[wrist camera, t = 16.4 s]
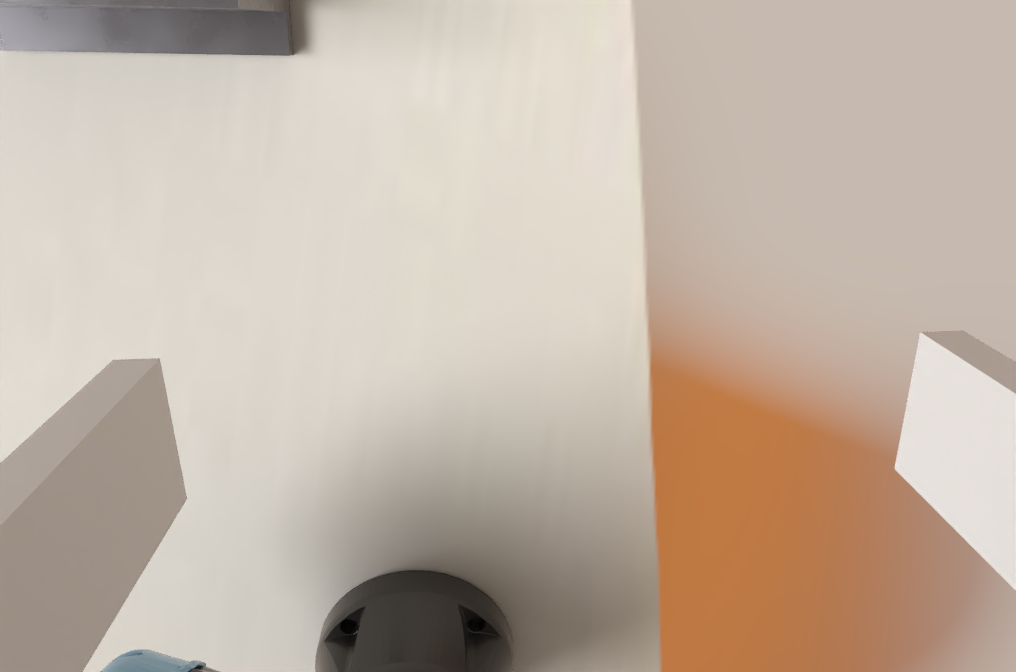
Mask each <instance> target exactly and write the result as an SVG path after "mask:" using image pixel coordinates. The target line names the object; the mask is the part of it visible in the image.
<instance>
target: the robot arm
mask: <svg viewBox="0 0 1016 672" xmlns="http://www.w3.org/2000/svg"><path fill="white" fill-rule="evenodd" d="M895 470H896V471H897V472H898V473H899V474H900V475H901V476H902V477H903V478H904V479H905V480H906V481H907V482H908V483H909V484H910V485H912V487H913V488H914V489H915V490H916V491H917V492H918V493H919V494H920V495H921V496H922V497H923V498H924V499H925V500H926V501H927V502H928V503H929V504H930V505H931V506H932V507H933V508H934V509H935V510H936V511H937V512H938V513H939V514H940V515H941V516H942V517H943V518H944V519H945V520H946V521H947V522H948V523H949V524H950V525H951V526H952V527H953V528H954V529H955V530H956V531H957V532H958V533H959V534H960V535H961V536H962V537H963V538H964V539H965V540H966V541H967V542H968V543H969V544H970V545H971V546H972V547H973V548H974V549H975V550H976V551H977V552H978V553H979V554H980V555H981V556H982V557H983V558H984V559H985V560H986V561H987V562H988V563H989V564H990V565H991V566H992V567H993V568H994V569H995V570H996V571H997V572H998V573H999V574H1000V575H1001V576H1002V577H1003V578H1004V579H1005V580H1006V581H1007V582H1008V583H1009V584H1010V585H1011V586H1012V587H1013V588H1014V589H1015V590H1016V362H1015V361H1013V360H1012V359H1010V358H1008V357H1007V356H1005V355H1003V354H1001V353H1000V352H998V351H996V350H995V349H993V348H991V347H989V346H988V345H986V344H984V343H983V342H981V341H979V340H978V339H976V338H974V337H973V336H971V335H969V334H968V333H966V332H964V331H940V332H920V337H919V342H918V347H917V353H916V358H915V364H914V368H913V374H912V379H911V384H910V389H909V395H908V400H907V405H906V411H905V416H904V421H903V426H902V432H901V437H900V442H899V448H898V453H897V458H896V463H895ZM186 499H187V497H186V492H185V486H184V481H183V476H182V471H181V466H180V461H179V456H178V450H177V445H176V440H175V435H174V430H173V425H172V420H171V414H170V409H169V404H168V399H167V394H166V389H165V384H164V379H163V373H162V368H161V363H160V358H159V359H130V360H113V361H112V362H111V363H109V364H108V365H107V366H106V367H105V368H104V369H103V370H102V371H101V372H100V373H99V374H97V375H96V376H95V377H94V378H93V379H92V380H91V381H90V382H89V383H88V384H87V385H85V386H84V387H83V388H82V389H81V390H80V391H79V392H78V393H77V394H76V395H75V396H73V397H72V398H71V399H70V400H69V401H68V402H67V403H66V404H65V405H64V406H63V407H61V408H60V409H59V410H58V411H57V412H56V413H55V414H54V415H53V416H52V417H51V418H49V419H48V420H47V421H46V422H45V423H44V424H43V425H42V426H41V427H40V428H39V429H37V430H36V431H35V432H34V433H33V434H32V435H31V436H30V437H29V438H28V439H27V440H25V441H24V442H23V443H22V444H21V445H20V446H19V447H18V448H17V449H16V450H15V451H13V452H12V453H11V454H10V455H9V456H8V457H7V458H6V459H5V460H4V461H3V462H1V463H0V672H83V670H84V668H85V667H86V665H87V663H88V662H89V660H90V658H91V657H92V655H93V654H94V652H95V650H96V649H97V647H98V645H99V644H100V642H101V640H102V639H103V637H104V635H105V634H106V632H107V630H108V629H109V627H110V625H111V624H112V622H113V620H114V619H115V617H116V615H117V614H118V612H119V610H120V609H121V607H122V605H123V604H124V602H125V600H126V599H127V597H128V595H129V594H130V592H131V590H132V589H133V587H134V586H135V584H136V582H137V581H138V579H139V577H140V576H141V574H142V572H143V571H144V569H145V567H146V566H147V564H148V562H149V561H150V559H151V557H152V556H153V554H154V552H155V551H156V549H157V547H158V546H159V544H160V542H161V541H162V539H163V537H164V536H165V534H166V532H167V531H168V529H169V527H170V526H171V524H172V523H173V521H174V519H175V518H176V516H177V514H178V513H179V511H180V509H181V508H182V506H183V504H184V503H185V501H186ZM315 671H316V672H513V650H512V638H511V632H510V629H509V626H508V623H507V621H506V619H505V617H504V615H503V613H502V612H501V610H500V609H499V608H498V606H497V605H496V604H495V603H494V602H493V601H492V600H491V599H490V598H489V597H488V596H487V595H486V594H484V593H483V592H482V591H480V590H479V589H477V588H476V587H474V586H472V585H471V584H469V583H467V582H465V581H462V580H460V579H457V578H454V577H452V576H448V575H444V574H439V573H433V572H424V571H408V572H398V573H392V574H388V575H384V576H381V577H377V578H375V579H372V580H370V581H367V582H365V583H363V584H361V585H359V586H358V587H356V588H354V589H353V590H351V591H350V592H349V593H347V594H346V595H345V596H344V597H343V598H342V599H341V600H340V601H339V602H338V603H337V604H336V605H335V606H334V607H333V609H332V610H331V612H330V613H329V615H328V617H327V618H326V620H325V623H324V625H323V628H322V632H321V636H320V640H319V644H318V648H317V653H316V663H315ZM101 672H219V671H216V670H213V669H211V668H208V667H206V663H203V662H201V661H196V660H195V661H191V662H188V661H184V660H181V659H178V658H174V657H171V656H168V655H164V654H161V653H158V652H154V651H151V650H133V651H130V652H127V653H125V654H122V655H120V656H119V657H117V658H116V659H114V660H113V661H112V662H111V663H109V664H108V665H107V666H106V667H105V668H104V669H103V670H102V671H101Z"/></svg>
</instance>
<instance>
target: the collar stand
mask: <svg viewBox="0 0 1016 672" xmlns="http://www.w3.org/2000/svg"><path fill="white" fill-rule="evenodd" d="M0 50H13V51H67V52H122V53H177V54H232V55H287V56H290V55H293V44H292V31H291V19H290V6H289V0H0Z"/></svg>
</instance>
